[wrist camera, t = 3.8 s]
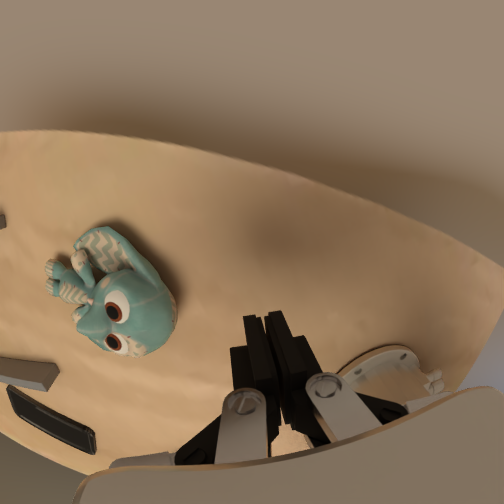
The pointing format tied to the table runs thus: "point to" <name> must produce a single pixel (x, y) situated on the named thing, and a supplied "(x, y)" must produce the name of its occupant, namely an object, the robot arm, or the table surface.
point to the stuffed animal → (114, 294)
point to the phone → (52, 422)
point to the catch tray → (27, 367)
